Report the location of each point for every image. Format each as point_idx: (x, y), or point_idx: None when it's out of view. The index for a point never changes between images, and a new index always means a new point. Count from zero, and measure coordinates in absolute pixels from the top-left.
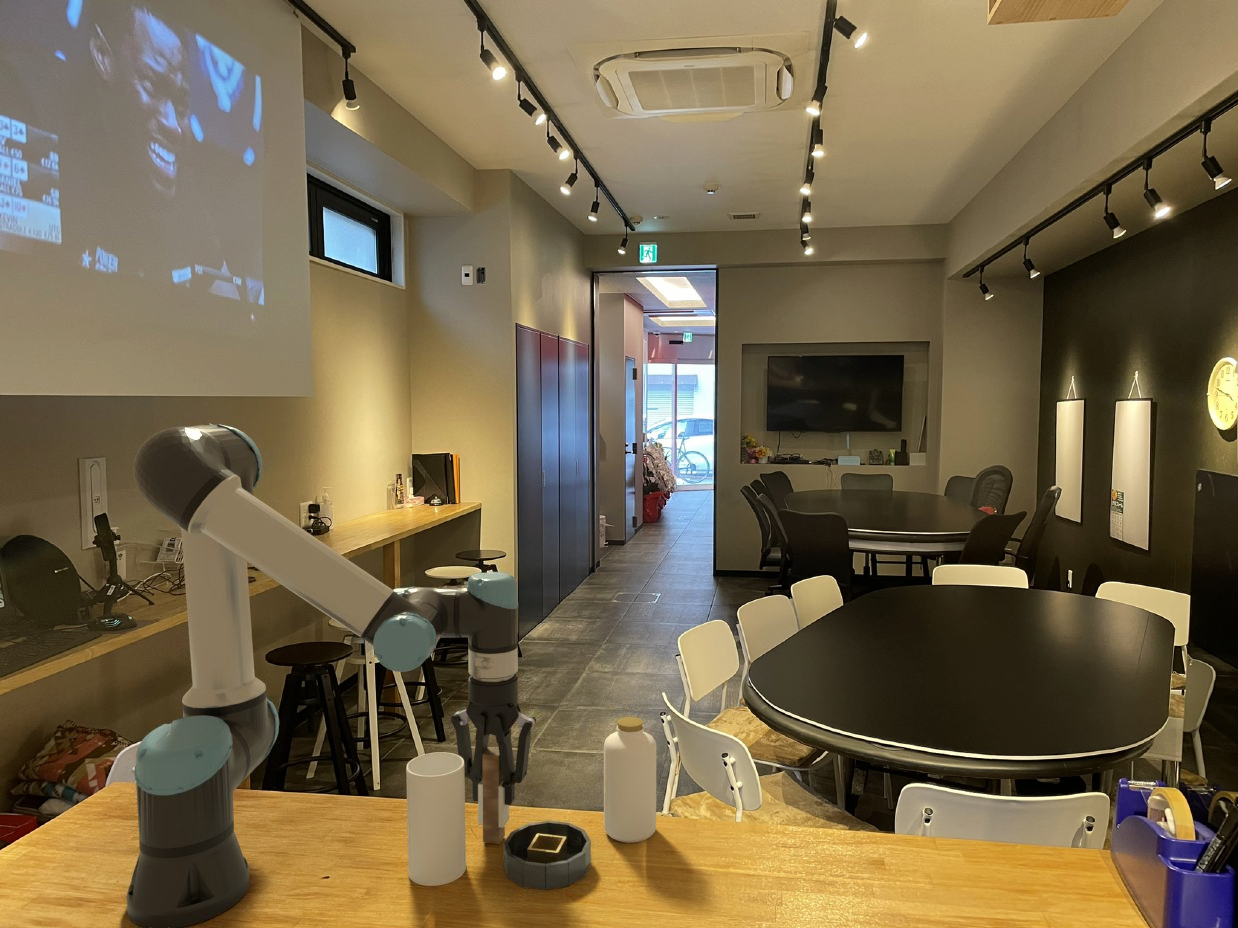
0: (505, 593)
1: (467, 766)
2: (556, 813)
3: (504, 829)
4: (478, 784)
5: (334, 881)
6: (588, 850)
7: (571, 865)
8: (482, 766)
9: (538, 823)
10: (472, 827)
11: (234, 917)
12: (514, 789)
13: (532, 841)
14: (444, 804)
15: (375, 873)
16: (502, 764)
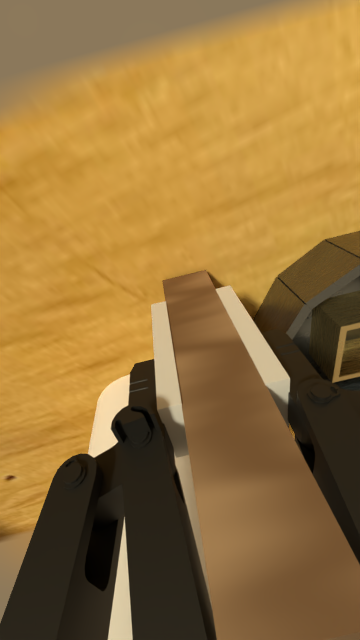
0: None
1: (117, 552)
2: (308, 30)
3: (209, 277)
4: (177, 454)
5: (31, 477)
6: None
7: None
8: (185, 515)
9: (336, 288)
10: (94, 264)
11: (7, 537)
12: (306, 361)
13: (336, 358)
14: None
15: (65, 448)
16: None
